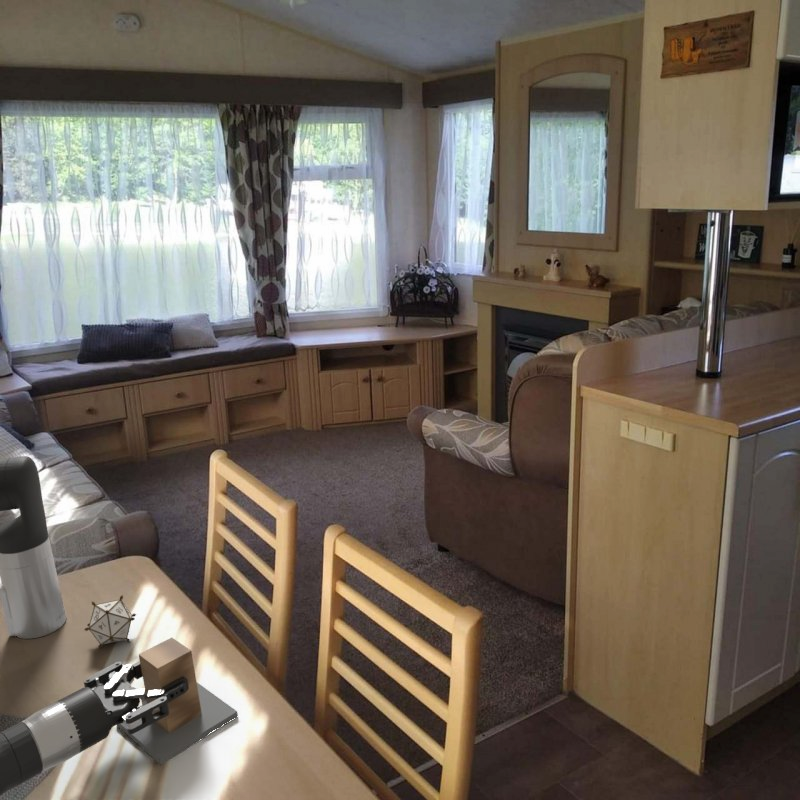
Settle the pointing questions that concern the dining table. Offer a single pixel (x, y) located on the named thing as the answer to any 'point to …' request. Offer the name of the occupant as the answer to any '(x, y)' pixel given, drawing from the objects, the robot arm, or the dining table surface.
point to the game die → (110, 622)
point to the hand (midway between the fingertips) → (171, 671)
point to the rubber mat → (183, 729)
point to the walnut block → (171, 680)
